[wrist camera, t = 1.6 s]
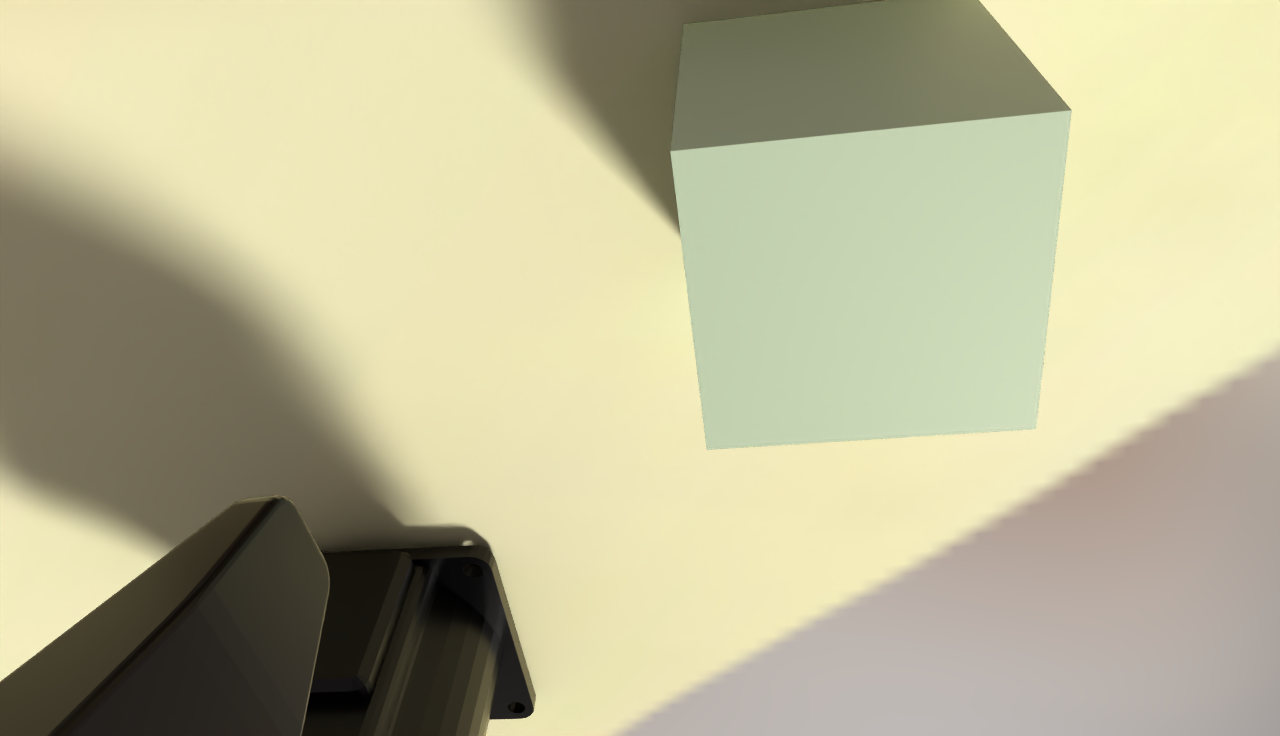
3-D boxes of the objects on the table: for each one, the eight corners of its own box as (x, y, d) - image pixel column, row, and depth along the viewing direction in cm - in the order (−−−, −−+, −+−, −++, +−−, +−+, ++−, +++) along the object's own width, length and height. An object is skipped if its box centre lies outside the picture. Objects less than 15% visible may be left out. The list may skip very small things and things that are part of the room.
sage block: (956, 246, 20) (1035, 428, 15) (709, 267, 21) (707, 449, 16) (970, -11, 17) (1071, 110, 12) (683, 23, 18) (670, 151, 13)
